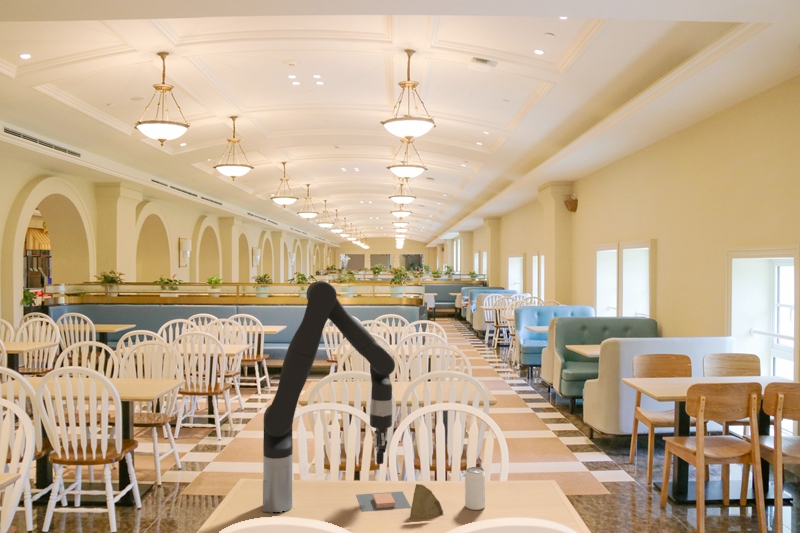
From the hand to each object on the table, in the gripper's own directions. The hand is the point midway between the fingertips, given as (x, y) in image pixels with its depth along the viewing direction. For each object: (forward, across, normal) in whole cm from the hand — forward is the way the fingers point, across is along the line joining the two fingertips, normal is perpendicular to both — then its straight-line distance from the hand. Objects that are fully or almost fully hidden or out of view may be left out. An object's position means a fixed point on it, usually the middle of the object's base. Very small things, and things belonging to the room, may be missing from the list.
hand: (379, 463), depth 199 cm
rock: (+11, +19, +12) cm, 25 cm away
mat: (+11, +5, 0) cm, 12 cm away
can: (+11, +14, +30) cm, 34 cm away
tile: (+10, +3, 0) cm, 10 cm away
